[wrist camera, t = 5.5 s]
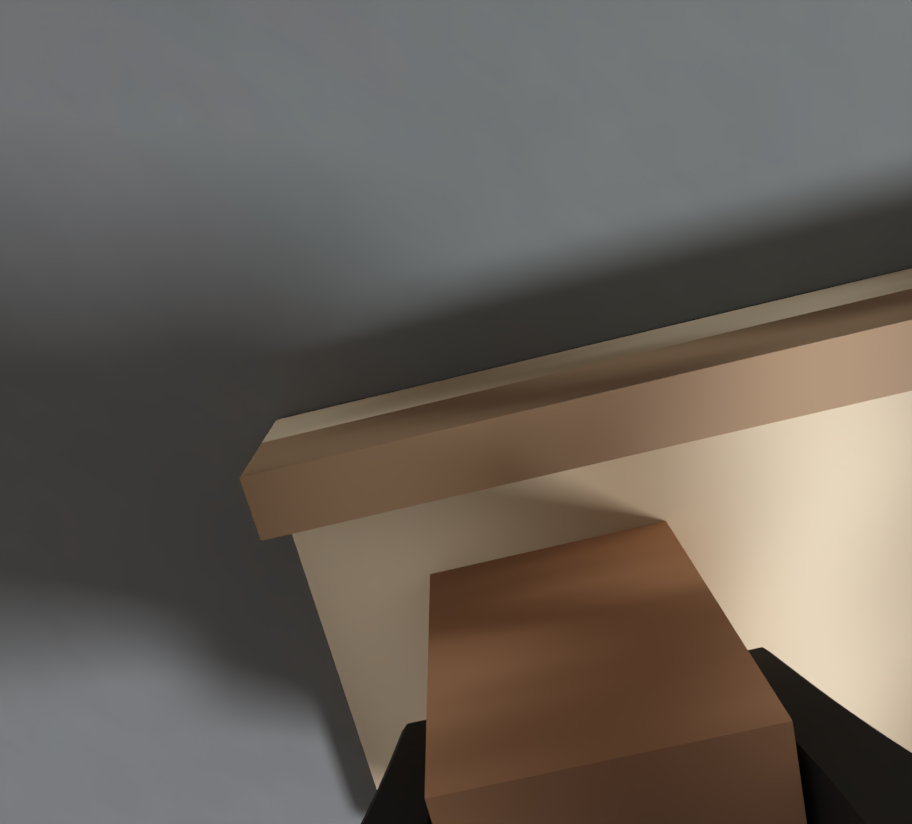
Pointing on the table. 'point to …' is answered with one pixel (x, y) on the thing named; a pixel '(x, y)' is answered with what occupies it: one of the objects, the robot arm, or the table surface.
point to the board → (628, 491)
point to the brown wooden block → (599, 694)
